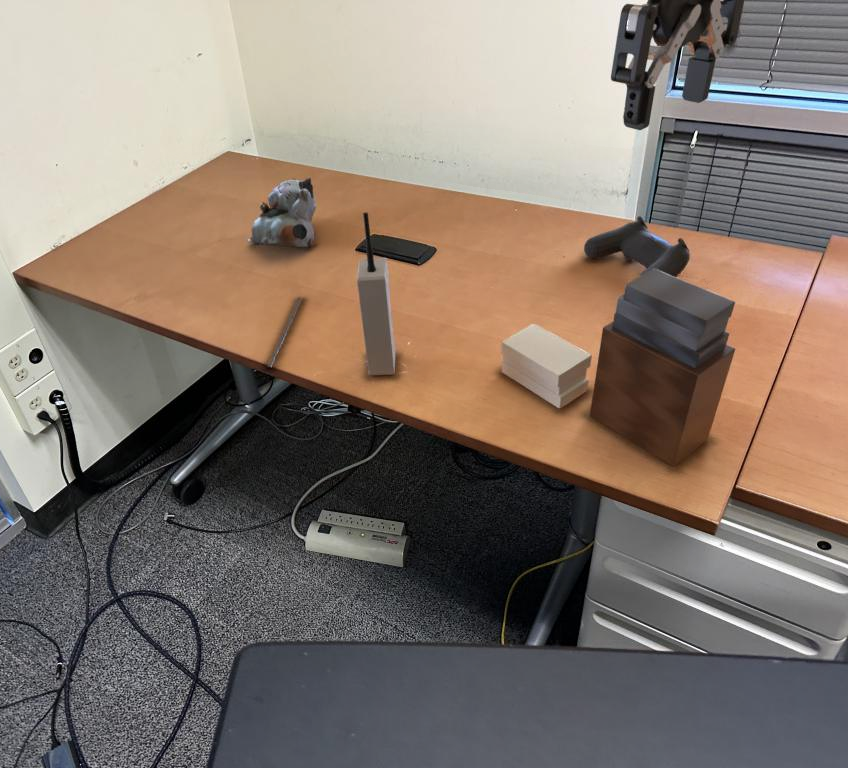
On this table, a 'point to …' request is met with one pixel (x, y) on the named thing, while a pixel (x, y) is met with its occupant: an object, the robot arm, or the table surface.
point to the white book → (546, 354)
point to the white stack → (546, 383)
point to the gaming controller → (640, 248)
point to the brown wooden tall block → (663, 365)
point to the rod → (284, 334)
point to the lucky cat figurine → (287, 216)
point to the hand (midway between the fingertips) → (665, 113)
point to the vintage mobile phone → (376, 310)
